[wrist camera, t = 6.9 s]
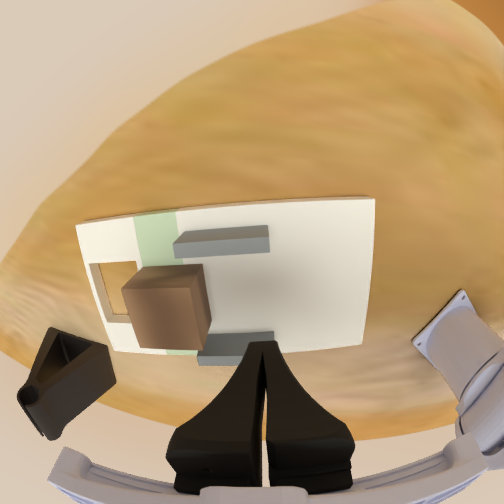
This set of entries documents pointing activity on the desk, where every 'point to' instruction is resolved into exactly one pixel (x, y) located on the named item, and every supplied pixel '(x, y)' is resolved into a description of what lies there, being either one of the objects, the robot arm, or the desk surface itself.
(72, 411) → the black open bin
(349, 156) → the desk surface
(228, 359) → the board
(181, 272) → the block
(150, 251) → the pad
